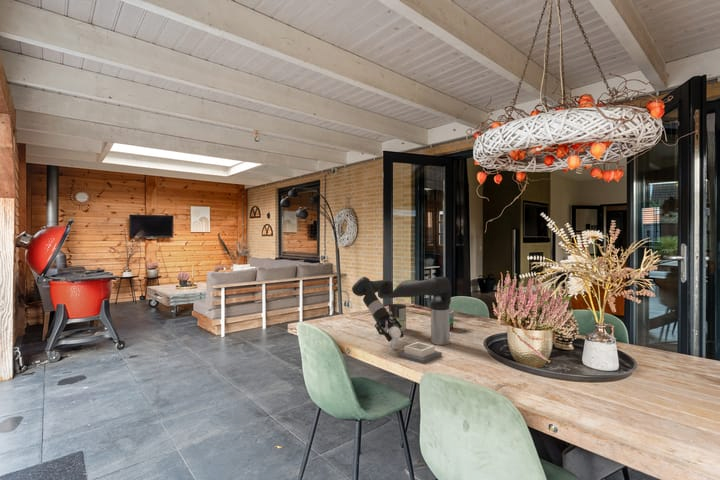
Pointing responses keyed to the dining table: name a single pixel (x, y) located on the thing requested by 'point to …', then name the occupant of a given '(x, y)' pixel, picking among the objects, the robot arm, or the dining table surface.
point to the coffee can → (398, 314)
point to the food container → (451, 318)
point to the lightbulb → (394, 336)
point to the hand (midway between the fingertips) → (396, 338)
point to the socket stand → (419, 352)
